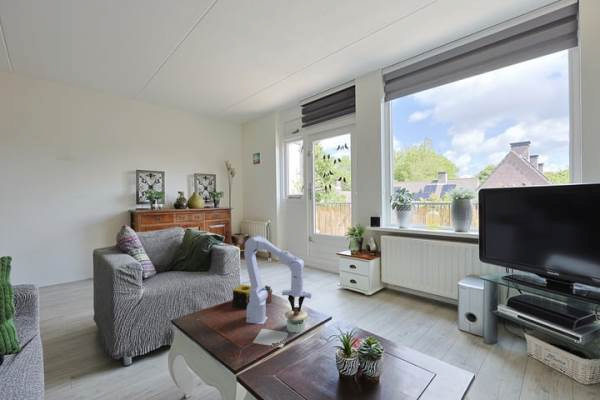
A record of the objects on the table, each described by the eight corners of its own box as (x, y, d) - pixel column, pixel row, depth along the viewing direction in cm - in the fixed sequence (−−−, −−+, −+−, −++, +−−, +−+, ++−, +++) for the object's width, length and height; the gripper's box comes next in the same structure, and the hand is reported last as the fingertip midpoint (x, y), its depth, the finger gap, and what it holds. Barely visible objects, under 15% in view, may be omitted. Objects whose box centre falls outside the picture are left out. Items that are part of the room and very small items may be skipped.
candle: (231, 306, 155) (231, 290, 154) (241, 300, 164) (241, 284, 164) (246, 310, 151) (247, 292, 151) (255, 302, 161) (256, 286, 160)
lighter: (272, 301, 163) (272, 285, 163) (271, 303, 160) (271, 287, 160) (259, 300, 164) (260, 284, 164) (258, 302, 161) (258, 286, 160)
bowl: (284, 332, 129) (284, 324, 129) (289, 322, 138) (289, 315, 137) (303, 334, 127) (303, 326, 127) (306, 325, 136) (306, 317, 136)
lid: (281, 318, 128) (282, 310, 128) (289, 309, 138) (289, 302, 138) (304, 322, 125) (304, 314, 125) (309, 312, 135) (309, 305, 135)
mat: (252, 343, 119) (252, 342, 119) (262, 329, 131) (262, 328, 131) (282, 348, 116) (282, 347, 116) (289, 333, 128) (289, 332, 128)
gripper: (280, 285, 129) (280, 312, 130) (310, 288, 126) (309, 316, 126) (284, 280, 136) (284, 306, 136) (312, 282, 133) (311, 309, 133)
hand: (296, 310), depth 132 cm, fingers closed on lid, 3 cm apart
